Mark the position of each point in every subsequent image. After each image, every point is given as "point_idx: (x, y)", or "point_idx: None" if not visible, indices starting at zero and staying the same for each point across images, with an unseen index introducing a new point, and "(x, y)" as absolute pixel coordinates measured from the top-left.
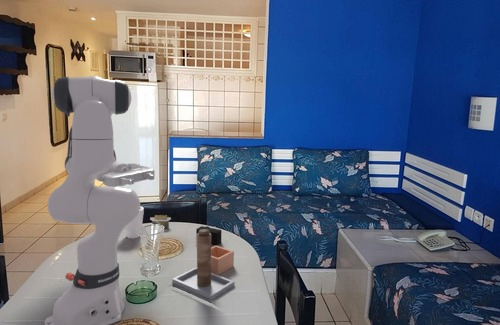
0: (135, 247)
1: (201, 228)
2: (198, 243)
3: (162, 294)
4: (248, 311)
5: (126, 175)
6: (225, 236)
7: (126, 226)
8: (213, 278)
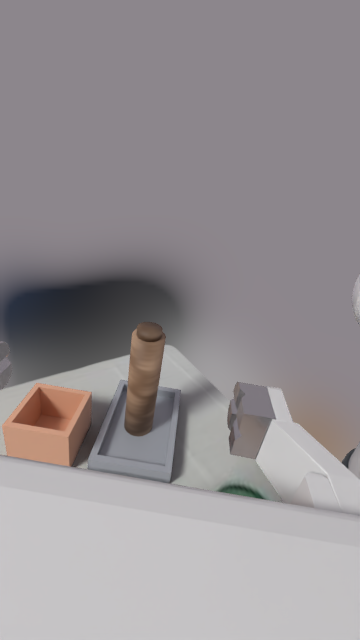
0: None
1: None
2: (162, 354)
3: (209, 480)
4: (168, 361)
5: (249, 498)
6: None
7: None
8: (112, 418)
